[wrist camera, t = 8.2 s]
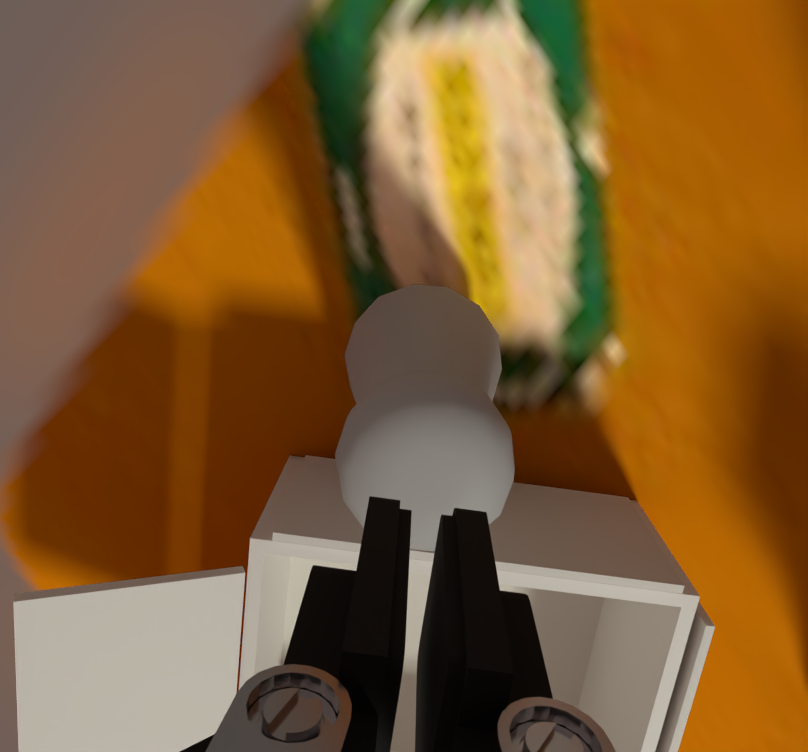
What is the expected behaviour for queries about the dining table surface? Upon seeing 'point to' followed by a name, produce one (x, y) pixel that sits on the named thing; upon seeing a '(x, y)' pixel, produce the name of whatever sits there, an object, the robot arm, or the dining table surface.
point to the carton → (517, 572)
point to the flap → (127, 662)
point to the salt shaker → (425, 411)
